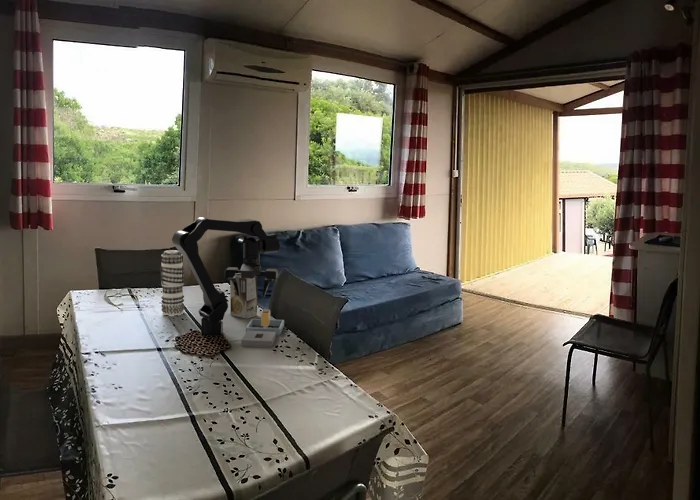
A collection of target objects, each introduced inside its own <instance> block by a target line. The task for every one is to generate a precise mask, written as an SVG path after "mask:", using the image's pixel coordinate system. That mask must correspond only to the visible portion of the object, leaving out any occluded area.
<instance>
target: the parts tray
mask: <svg viewBox="0 0 700 500" xmlns="http://www.w3.org/2000/svg"><path fill="white" fill-rule="evenodd" d="M254 326H261V318H259V319H258V318H251V319H250V321H249V322H248V324H247V326H246V327H245V333H246V332H247V331H269V332H276V336H281V334H282V331H283V329H284V327H285V319H270V324H269V326H268V328H264V327H262V326H261V327H254ZM273 327H275V328H273ZM276 327H278V328H276Z"/></svg>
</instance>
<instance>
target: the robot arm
mask: <svg viewBox="0 0 700 500" xmlns="http://www.w3.org/2000/svg"><path fill="white" fill-rule="evenodd" d="M209 230H210V231H222V232H224V231H225V232H234V233H239V234H243V235H241V237H240V238H239V239H238V240H237V242H238V243H240V244H241V243H242V244H243V259H242V264H241V267H240V269H239V268H238V267H234V266H233V267H231V266H230V267H229V266H228V267H227V268H225V270H224V273H223V278H227V280H228V281H230V280H231V281H232V282H233V284H234V286H235V289H236V292H237V295H238V296H240V284H239V275H241V278H250V279H253V278H255V276H257V277H265V278H264V279H263V292H262V297H263V298H265V297H266V293H267V291H268V287H269V286H270V283H271V282H273V281H274V280H277V279H278V277H279V270H278V269H277V268H267V269H266V270H262V266H261V264H260V262H261V261H260V259H261V258H260V255H261V254H260V253H262V254H269V253H270V254H271V253H278V252H279V251H280V248H281V244H280V240H279V238H278V234H276V233H269V234H267V233H266V232H265V230H264V229H263V225H262V223H261V221H259V220H255V219H250V218H244V219H243V218H242V219H238V220H227V219H219V218H218V219H216V218H206V217H204V216H203V217H201V216H200V217H198V218H196V219H195V220H194V221H193V222H191V223H190V224H188V225H185V226H184V227H183V228H182V229H181V230H178V231H176V232H174V234H173V235H172V237H171V241H172V244H173V246H174V247H175V248H176V249H177V251H179V252H180V253H181V254H182V257H184V258H185V260H186V262H187V264H188V266H189V268H190V269H191V271H192V274H193V275H194V278H195V280H196V281H197V283H198V285H199V287H200V289H201V291H202V298H203V299H202V300H203V303H204V304H203V305H202V306H201V308H199V310H198V314H199V316H200V317H201V319H200V321H201V323H200V324H201V326H200V328H201V329H200V331H201V334H200V335H199V337H200V336H203V337H204V336H210V337H213V336H219V335H220V336H221V335H222V334H223V333H224V322H223V320H224V317H225V313H226V312H227V311H228V308H229V301H230V300H228V299H227V297H226V293H225V291H223V290H221V289H218V288H216V286H215V284H214V282H213V280H212V278H211V277H210V274H209V272H208V271H207V268H206V266H205V264H204V262H203V261H202V258H201V256H200V254H199V250H200V249H199V244H198V241H200V240H201V239H202V238H203V236H204V235H205V233H207V231H209ZM246 235H247V236H248V237H247V236H246ZM249 236H250V237H249ZM256 238H257V239H256Z"/></svg>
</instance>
